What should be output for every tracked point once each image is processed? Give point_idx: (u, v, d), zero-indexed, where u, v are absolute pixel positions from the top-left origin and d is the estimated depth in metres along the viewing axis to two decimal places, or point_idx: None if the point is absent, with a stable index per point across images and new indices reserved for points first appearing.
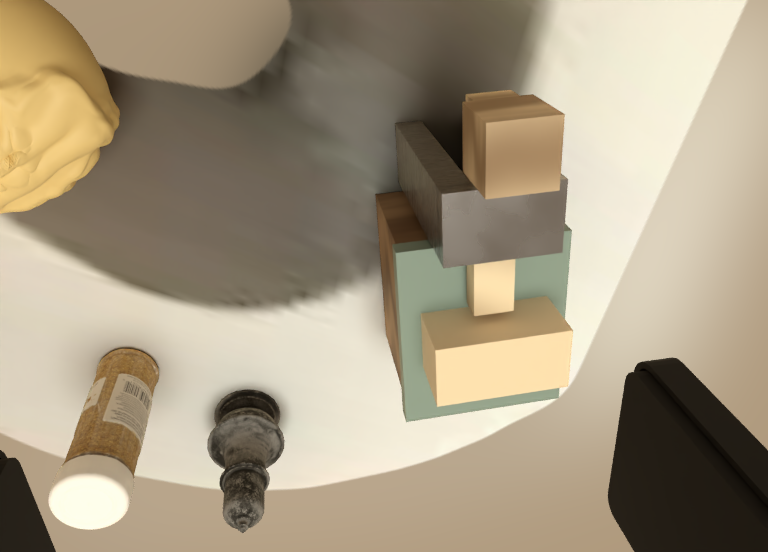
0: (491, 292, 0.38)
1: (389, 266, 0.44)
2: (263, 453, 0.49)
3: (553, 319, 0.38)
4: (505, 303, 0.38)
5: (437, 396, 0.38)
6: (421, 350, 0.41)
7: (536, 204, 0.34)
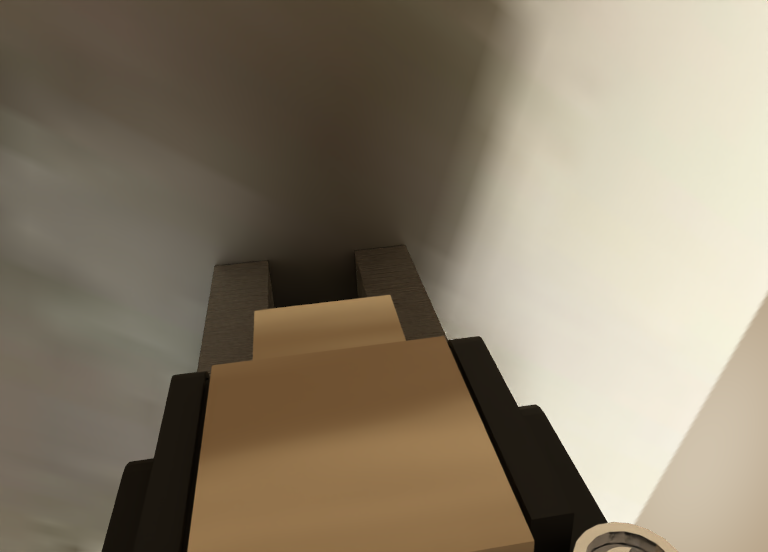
0: None
1: None
2: None
3: None
4: None
5: None
6: None
7: None
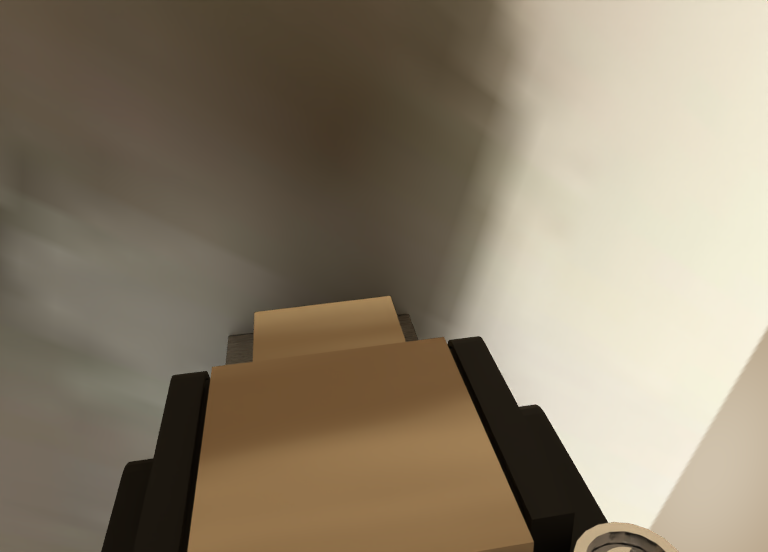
0: None
1: None
2: None
3: None
4: None
5: None
6: None
7: None
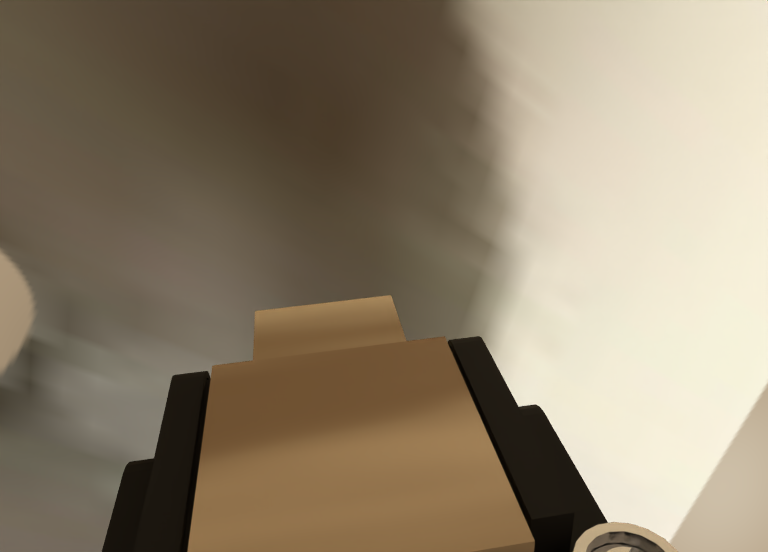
0: None
1: None
2: None
3: None
4: None
5: None
6: None
7: None
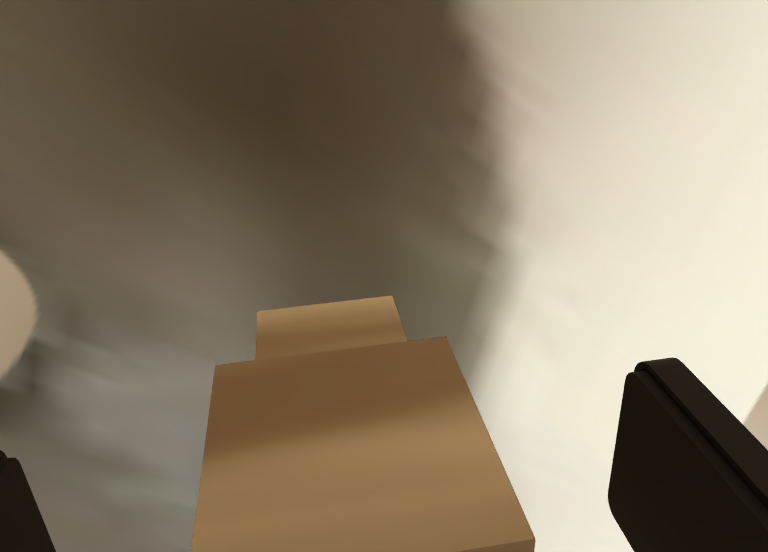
0: None
1: None
2: None
3: None
4: None
5: None
6: None
7: None
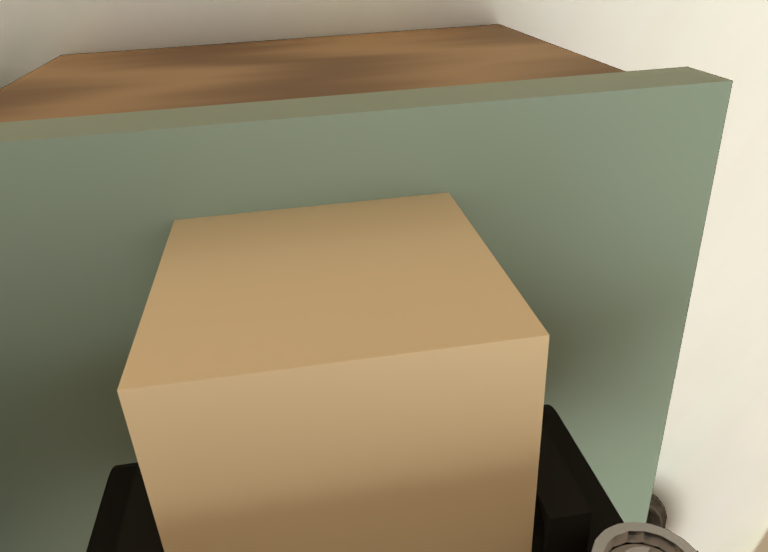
0: None
1: None
2: None
3: None
4: None
5: None
6: None
7: None
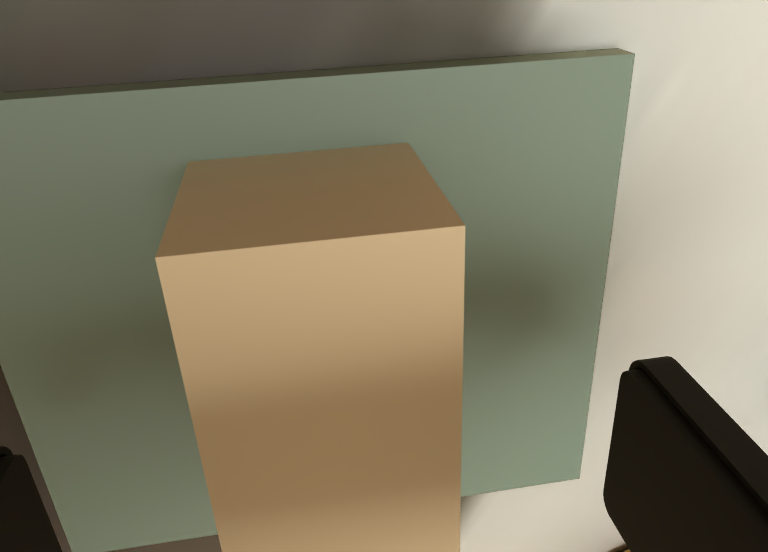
0: None
1: None
2: None
3: None
4: None
5: None
6: None
7: None
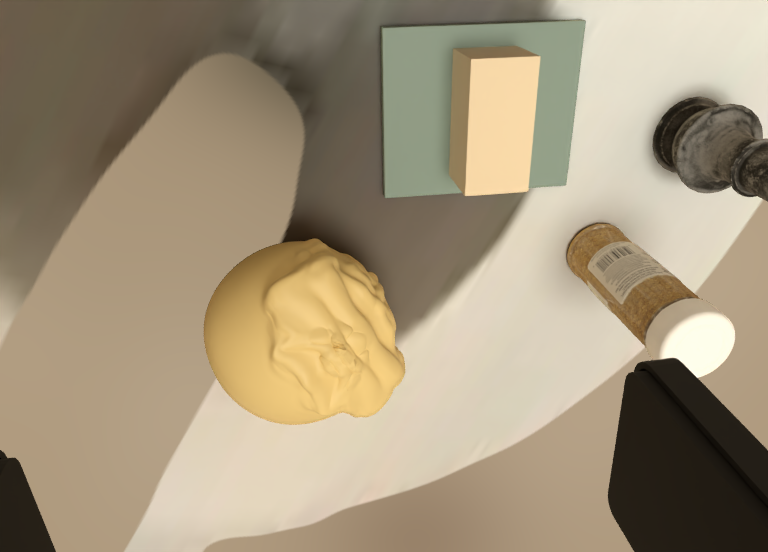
0: None
1: None
2: (733, 137, 0.40)
3: (464, 66, 0.38)
4: None
5: (516, 191, 0.40)
6: None
7: None
